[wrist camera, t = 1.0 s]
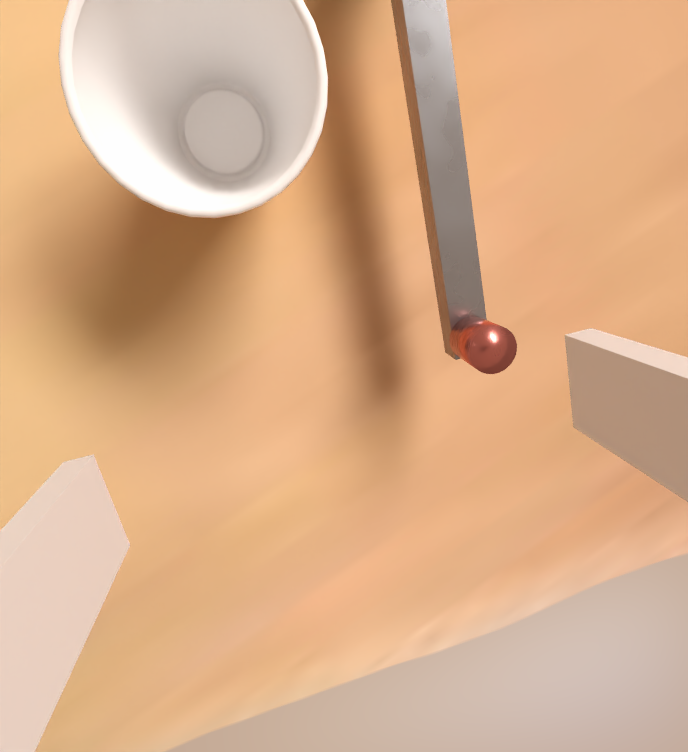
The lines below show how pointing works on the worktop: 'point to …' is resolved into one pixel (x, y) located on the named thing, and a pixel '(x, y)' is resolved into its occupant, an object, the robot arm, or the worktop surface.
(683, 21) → the worktop surface
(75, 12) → the cup
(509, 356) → the lever
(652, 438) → the robot arm
